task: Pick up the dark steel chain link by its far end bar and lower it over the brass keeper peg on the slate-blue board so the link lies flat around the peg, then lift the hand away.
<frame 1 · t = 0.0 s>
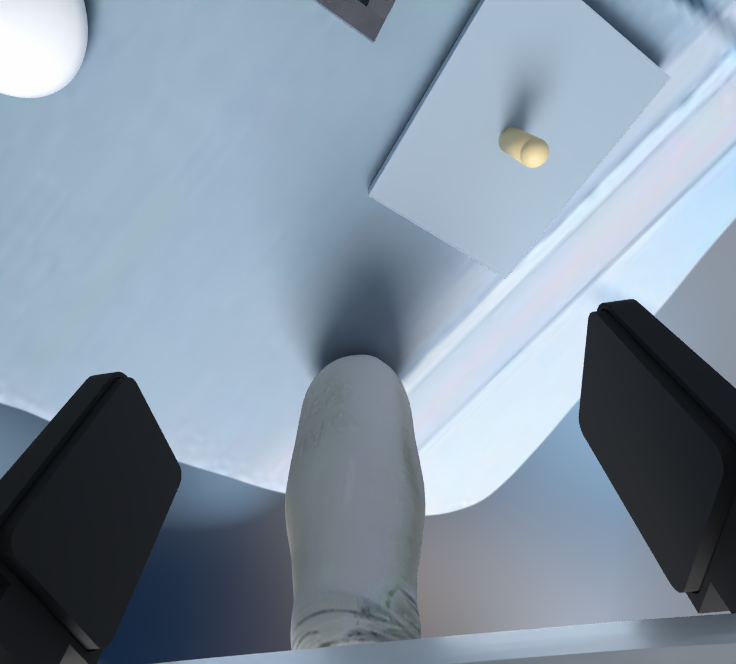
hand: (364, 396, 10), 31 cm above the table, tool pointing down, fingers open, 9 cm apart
tall cream vase: (357, 376, 48), on the table
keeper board: (503, 136, 36), on the table
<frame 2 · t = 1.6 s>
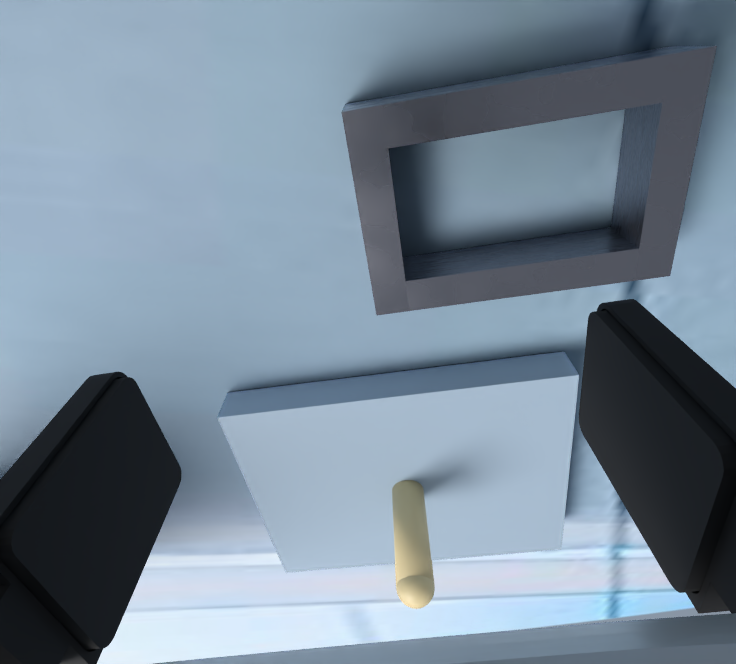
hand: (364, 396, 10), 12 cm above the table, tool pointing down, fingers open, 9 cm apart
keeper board: (405, 463, 28), on the table
steel link: (504, 184, 19), on the table
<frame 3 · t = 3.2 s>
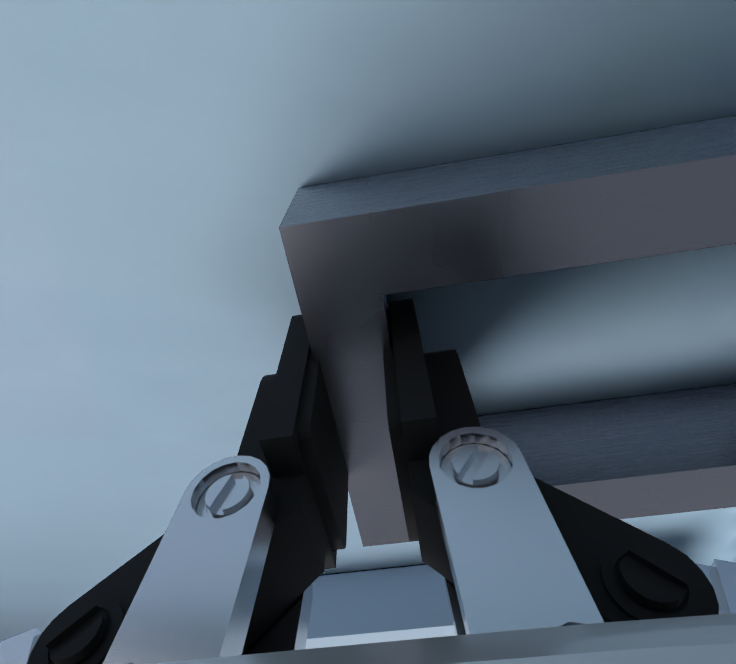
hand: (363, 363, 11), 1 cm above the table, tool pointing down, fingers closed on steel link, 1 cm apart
steel link: (587, 318, 11), on the table, touching gripper
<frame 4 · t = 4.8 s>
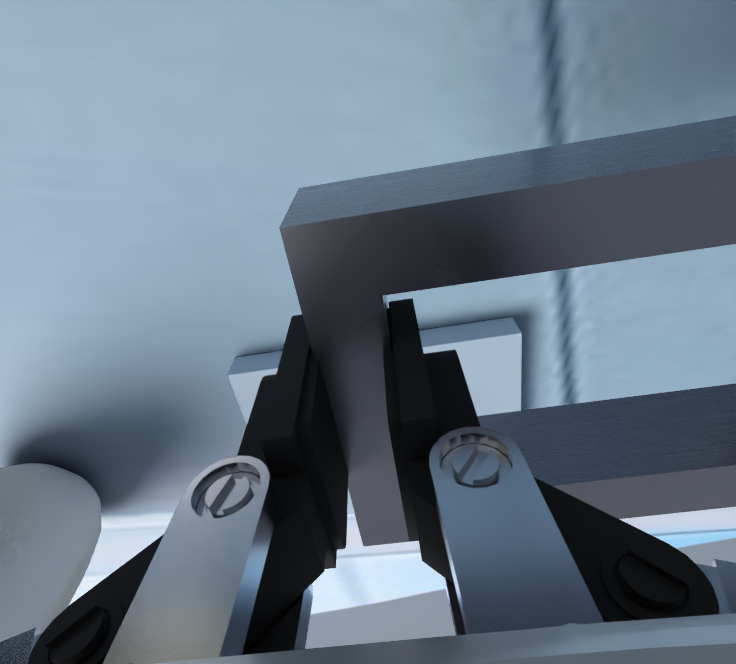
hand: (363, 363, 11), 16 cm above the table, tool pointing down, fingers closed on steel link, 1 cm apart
tall cream vase: (59, 482, 36), on the table
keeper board: (385, 420, 33), on the table
steel link: (587, 318, 11), point 16 cm above the table, touching gripper
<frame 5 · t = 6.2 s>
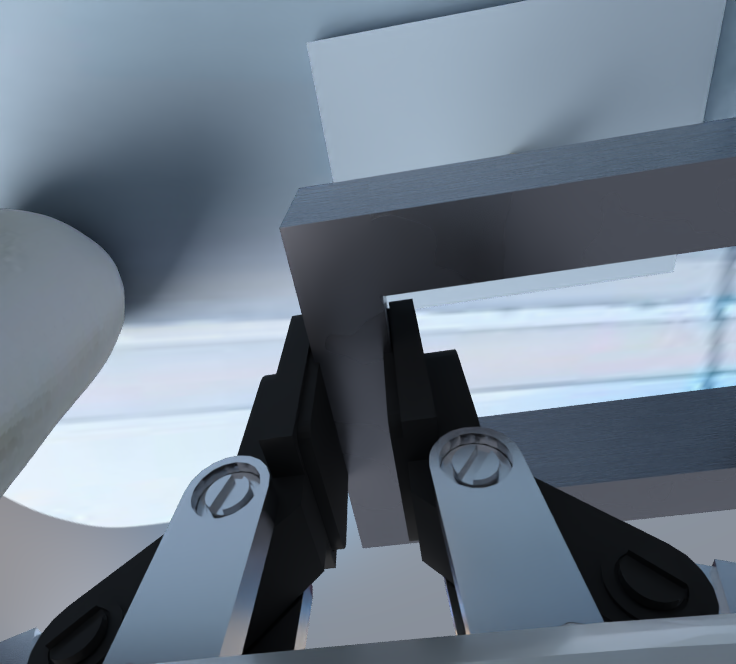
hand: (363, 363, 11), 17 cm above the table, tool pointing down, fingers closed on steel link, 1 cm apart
tall cream vase: (70, 268, 28), on the table
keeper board: (502, 163, 25), on the table
steel link: (588, 319, 11), point 17 cm above the table, touching gripper
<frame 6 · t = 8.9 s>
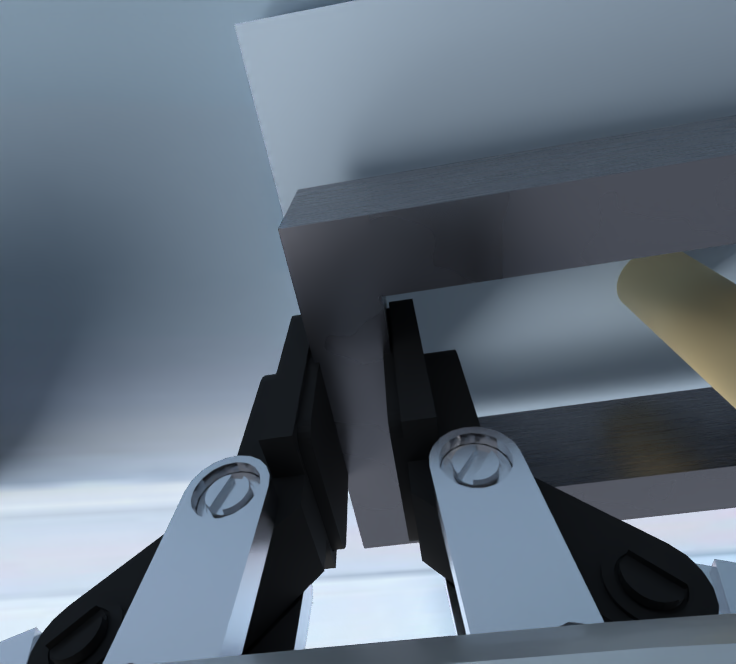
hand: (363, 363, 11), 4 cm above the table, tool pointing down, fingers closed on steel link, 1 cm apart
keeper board: (615, 251, 14), on the table
steel link: (588, 318, 11), point 3 cm above the table, touching gripper
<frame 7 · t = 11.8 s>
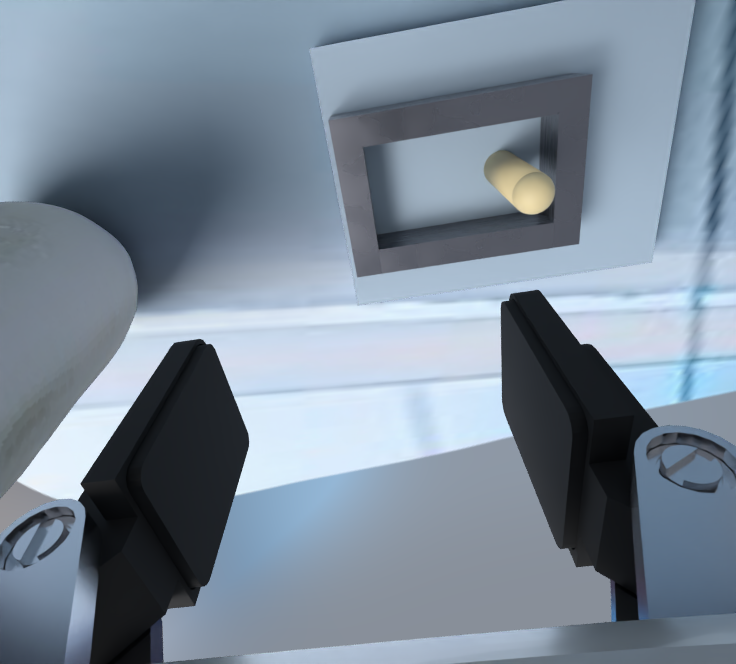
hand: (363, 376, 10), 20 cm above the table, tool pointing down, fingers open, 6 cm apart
tall cream vase: (85, 259, 30), on the table
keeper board: (491, 160, 27), on the table
steel link: (453, 175, 25), point 2 cm above the table, touching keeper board
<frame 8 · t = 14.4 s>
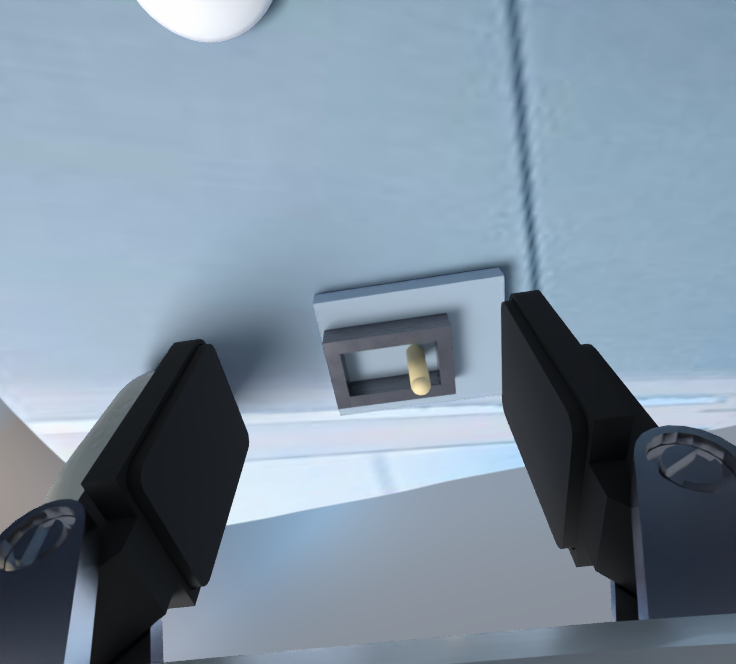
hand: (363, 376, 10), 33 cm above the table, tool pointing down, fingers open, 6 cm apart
tall cream vase: (183, 388, 51), on the table
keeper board: (413, 341, 48), on the table
steel link: (390, 355, 47), point 2 cm above the table, touching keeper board
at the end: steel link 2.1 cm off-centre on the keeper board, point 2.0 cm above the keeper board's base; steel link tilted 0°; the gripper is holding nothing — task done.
